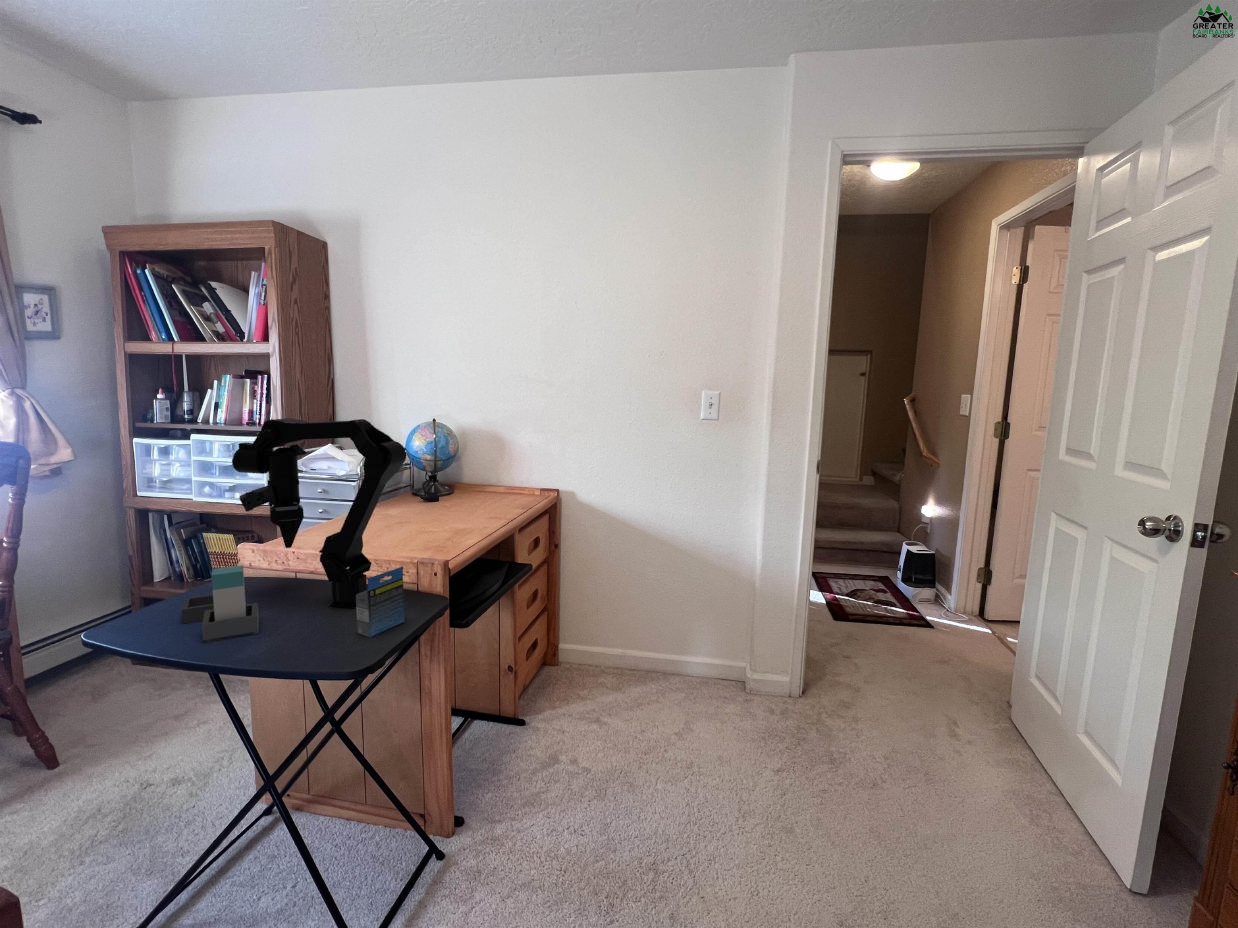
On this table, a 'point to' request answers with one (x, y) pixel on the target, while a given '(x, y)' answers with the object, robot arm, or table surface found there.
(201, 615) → the frame
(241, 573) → the plug
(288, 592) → the table surface
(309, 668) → the table surface
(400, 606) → the label tape cartridge
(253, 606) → the port
